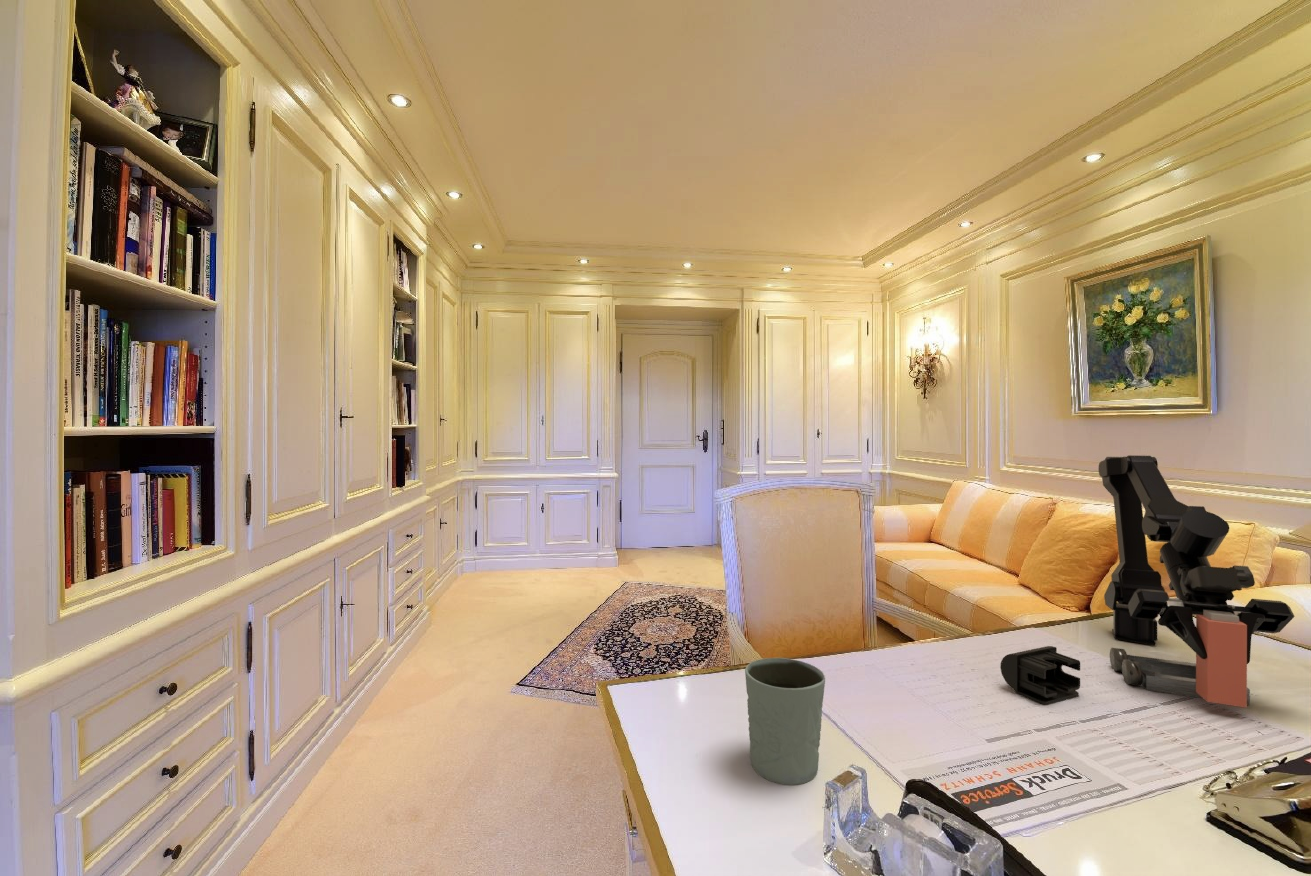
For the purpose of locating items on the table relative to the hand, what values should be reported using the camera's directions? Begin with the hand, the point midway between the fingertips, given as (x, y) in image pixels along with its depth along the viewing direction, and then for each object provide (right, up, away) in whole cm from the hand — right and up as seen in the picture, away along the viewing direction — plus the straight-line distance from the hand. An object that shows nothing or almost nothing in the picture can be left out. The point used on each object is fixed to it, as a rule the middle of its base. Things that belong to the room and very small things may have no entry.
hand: (1225, 660), depth 84 cm
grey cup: (-71, -8, -13) cm, 73 cm away
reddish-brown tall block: (+1, -7, +1) cm, 7 cm away
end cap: (-23, -9, +8) cm, 26 cm away
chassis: (+3, -9, +11) cm, 14 cm away
